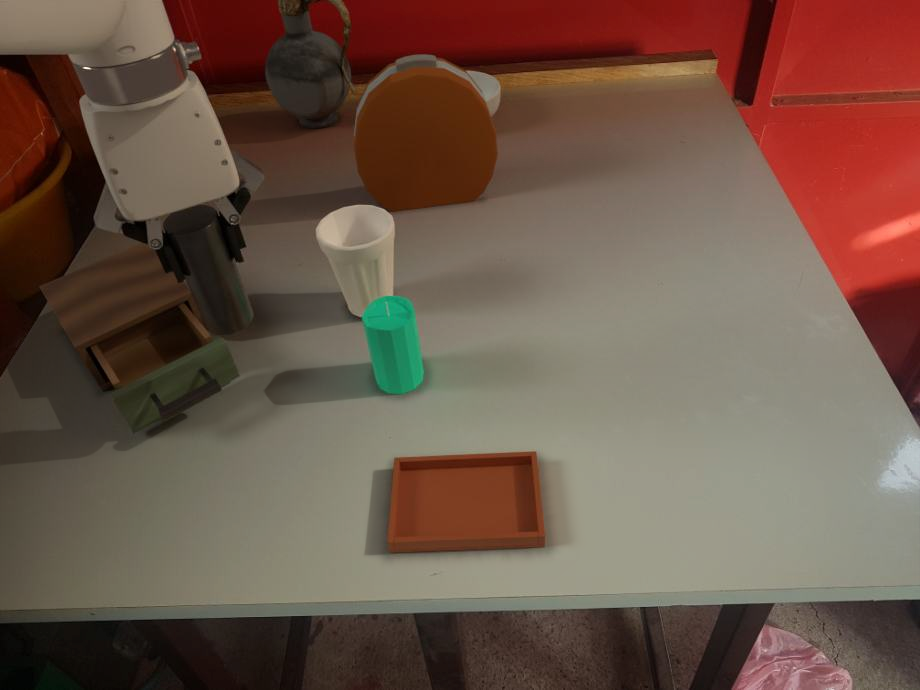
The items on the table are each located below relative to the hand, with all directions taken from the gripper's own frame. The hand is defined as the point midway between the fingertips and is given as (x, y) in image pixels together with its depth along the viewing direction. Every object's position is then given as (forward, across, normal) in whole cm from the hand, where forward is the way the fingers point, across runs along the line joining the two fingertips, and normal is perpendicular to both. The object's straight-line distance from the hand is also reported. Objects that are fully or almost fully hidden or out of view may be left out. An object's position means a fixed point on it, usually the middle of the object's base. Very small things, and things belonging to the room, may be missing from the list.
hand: (207, 263), depth 65 cm
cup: (+24, -18, -14) cm, 33 cm away
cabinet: (+23, +12, -26) cm, 37 cm away
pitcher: (+23, -32, -72) cm, 82 cm away
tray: (+23, -15, +21) cm, 35 cm away
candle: (+24, -16, +1) cm, 29 cm away
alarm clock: (+23, -38, -36) cm, 58 cm away
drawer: (+23, +9, -13) cm, 27 cm away
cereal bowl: (+23, -54, -56) cm, 81 cm away
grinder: (+7, 0, 0) cm, 7 cm away
